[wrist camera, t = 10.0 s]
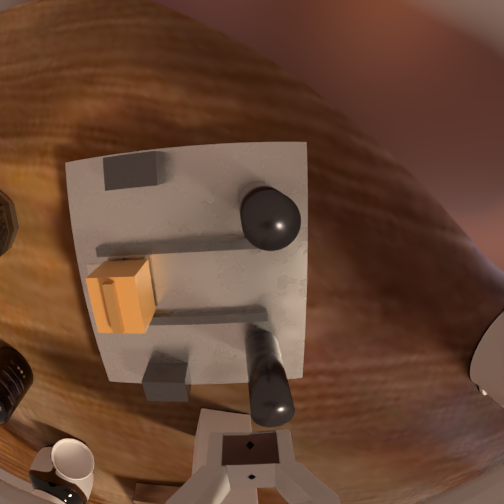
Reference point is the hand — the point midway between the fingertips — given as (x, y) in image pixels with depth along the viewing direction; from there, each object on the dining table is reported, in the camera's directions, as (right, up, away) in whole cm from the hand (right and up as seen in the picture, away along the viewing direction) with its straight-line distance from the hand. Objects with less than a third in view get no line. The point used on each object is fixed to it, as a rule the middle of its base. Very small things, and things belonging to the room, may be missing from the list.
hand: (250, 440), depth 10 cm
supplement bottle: (-32, -8, +21) cm, 39 cm away
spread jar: (-29, -25, +26) cm, 47 cm away
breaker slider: (-10, +4, +15) cm, 19 cm away
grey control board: (-5, +5, +18) cm, 20 cm away
